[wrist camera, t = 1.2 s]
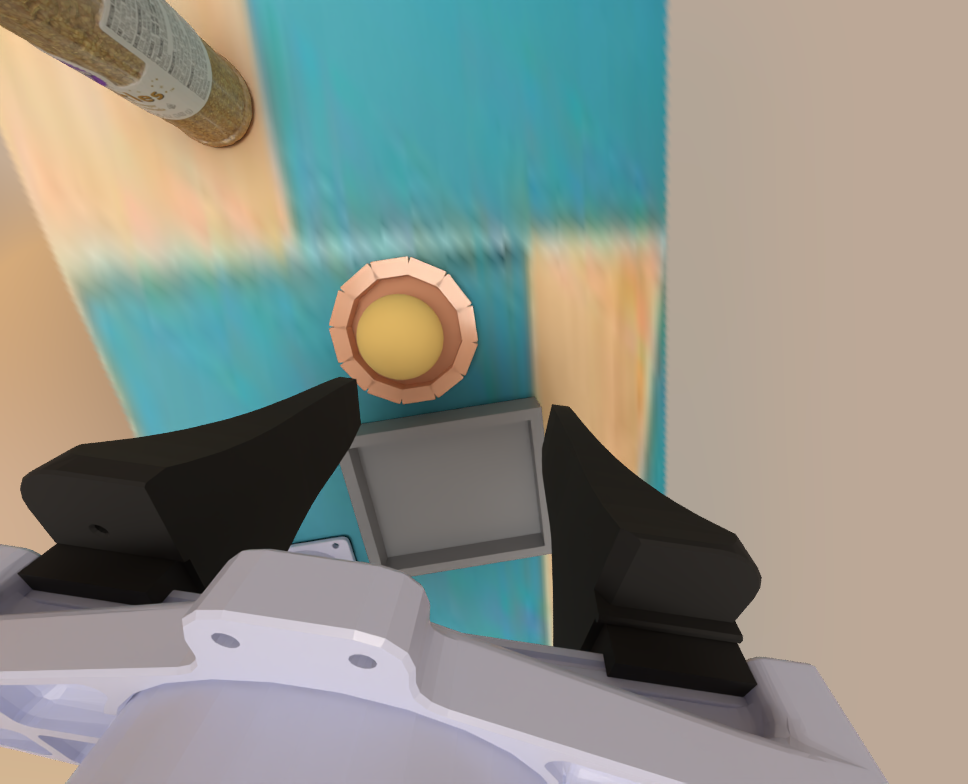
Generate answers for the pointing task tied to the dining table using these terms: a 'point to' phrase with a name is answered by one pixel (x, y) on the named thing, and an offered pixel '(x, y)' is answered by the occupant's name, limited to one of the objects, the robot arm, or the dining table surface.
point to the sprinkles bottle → (141, 60)
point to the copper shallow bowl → (430, 289)
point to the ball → (400, 336)
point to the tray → (451, 487)
